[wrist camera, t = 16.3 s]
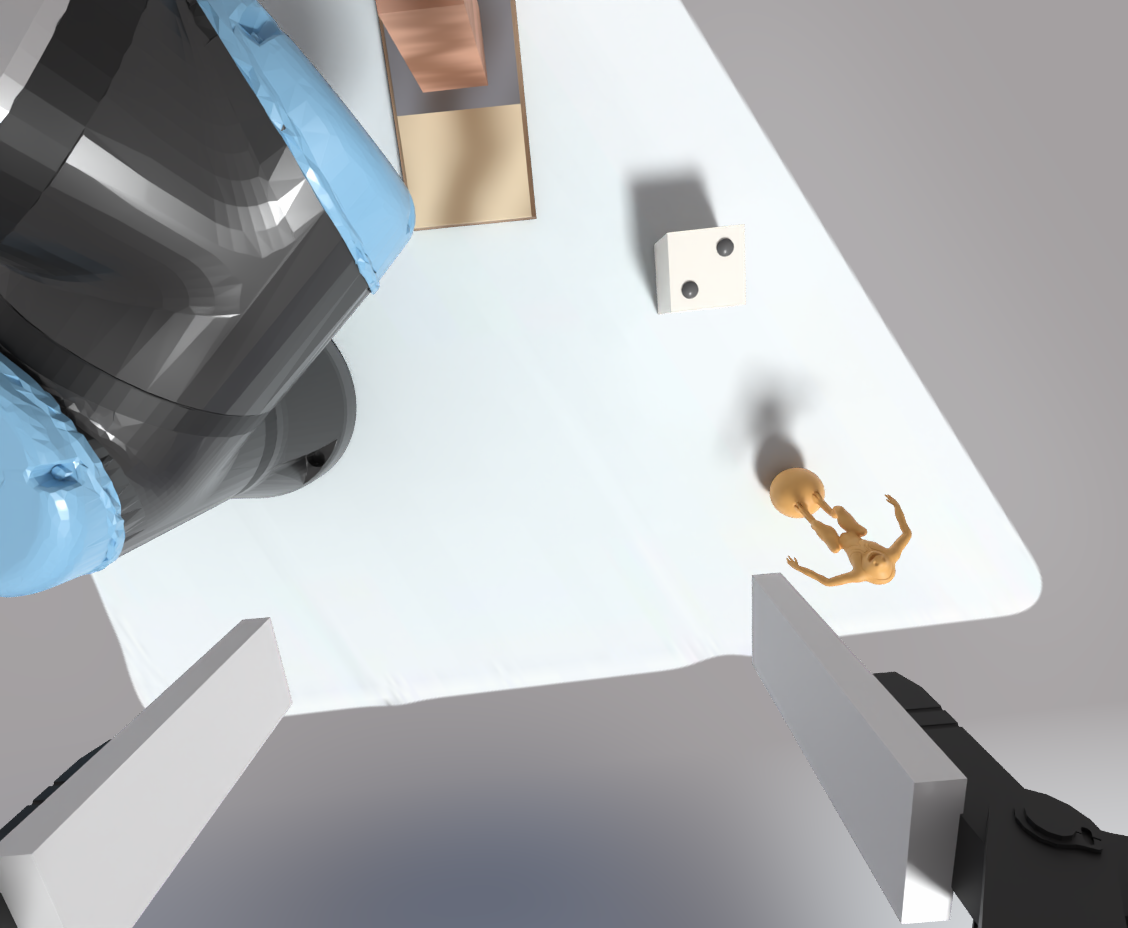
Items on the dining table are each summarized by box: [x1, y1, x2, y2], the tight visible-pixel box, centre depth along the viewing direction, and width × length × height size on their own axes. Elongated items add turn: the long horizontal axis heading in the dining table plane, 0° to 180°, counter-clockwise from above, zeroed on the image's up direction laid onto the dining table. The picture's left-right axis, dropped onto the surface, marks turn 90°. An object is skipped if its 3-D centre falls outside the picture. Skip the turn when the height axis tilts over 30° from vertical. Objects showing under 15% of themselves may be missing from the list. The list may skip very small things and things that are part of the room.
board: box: [378, 0, 536, 231], centre depth 35 cm, size 9×21×1 cm, turn 5°
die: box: [654, 224, 746, 315], centre depth 37 cm, size 5×5×5 cm
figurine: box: [770, 468, 912, 586], centre depth 38 cm, size 8×6×12 cm
